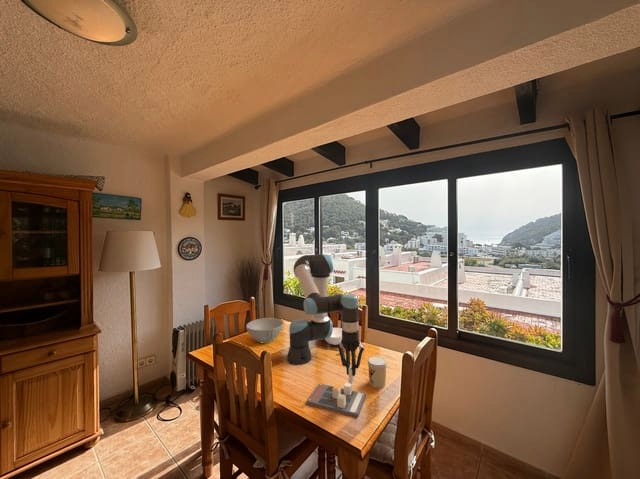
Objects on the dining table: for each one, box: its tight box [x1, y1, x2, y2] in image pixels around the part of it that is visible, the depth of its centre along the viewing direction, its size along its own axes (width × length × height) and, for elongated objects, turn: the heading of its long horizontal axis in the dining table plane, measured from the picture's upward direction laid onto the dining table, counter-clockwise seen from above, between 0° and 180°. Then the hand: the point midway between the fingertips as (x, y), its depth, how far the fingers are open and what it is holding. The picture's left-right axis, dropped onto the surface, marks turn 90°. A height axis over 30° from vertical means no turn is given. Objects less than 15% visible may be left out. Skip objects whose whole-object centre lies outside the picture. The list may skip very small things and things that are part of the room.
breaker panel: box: [305, 382, 367, 419], centre depth 121 cm, size 24×15×6 cm, turn 67°
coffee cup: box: [367, 356, 387, 389], centre depth 133 cm, size 9×9×12 cm
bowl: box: [324, 327, 342, 346], centre depth 186 cm, size 18×18×7 cm
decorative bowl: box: [245, 317, 284, 344], centre depth 192 cm, size 27×27×12 cm
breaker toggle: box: [332, 385, 341, 399], centre depth 121 cm, size 3×3×4 cm
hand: (351, 382), depth 118 cm, fingers closed
